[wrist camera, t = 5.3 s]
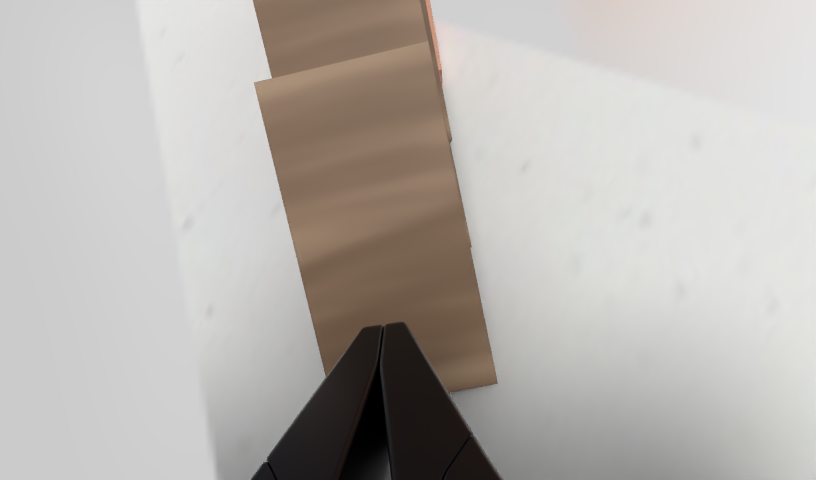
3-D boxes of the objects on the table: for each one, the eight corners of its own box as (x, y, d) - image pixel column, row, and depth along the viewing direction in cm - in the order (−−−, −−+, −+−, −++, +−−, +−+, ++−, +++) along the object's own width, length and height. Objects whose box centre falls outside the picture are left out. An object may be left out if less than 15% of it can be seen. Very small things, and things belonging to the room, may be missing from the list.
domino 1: (471, 247, 15) (403, -78, 14) (321, 278, 16) (244, -36, 15) (467, 240, 17) (406, -52, 16) (331, 270, 17) (262, -14, 16)
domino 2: (497, 383, 14) (428, 41, 13) (334, 413, 14) (253, 82, 13) (490, 363, 16) (428, 56, 15) (344, 391, 16) (272, 93, 15)
